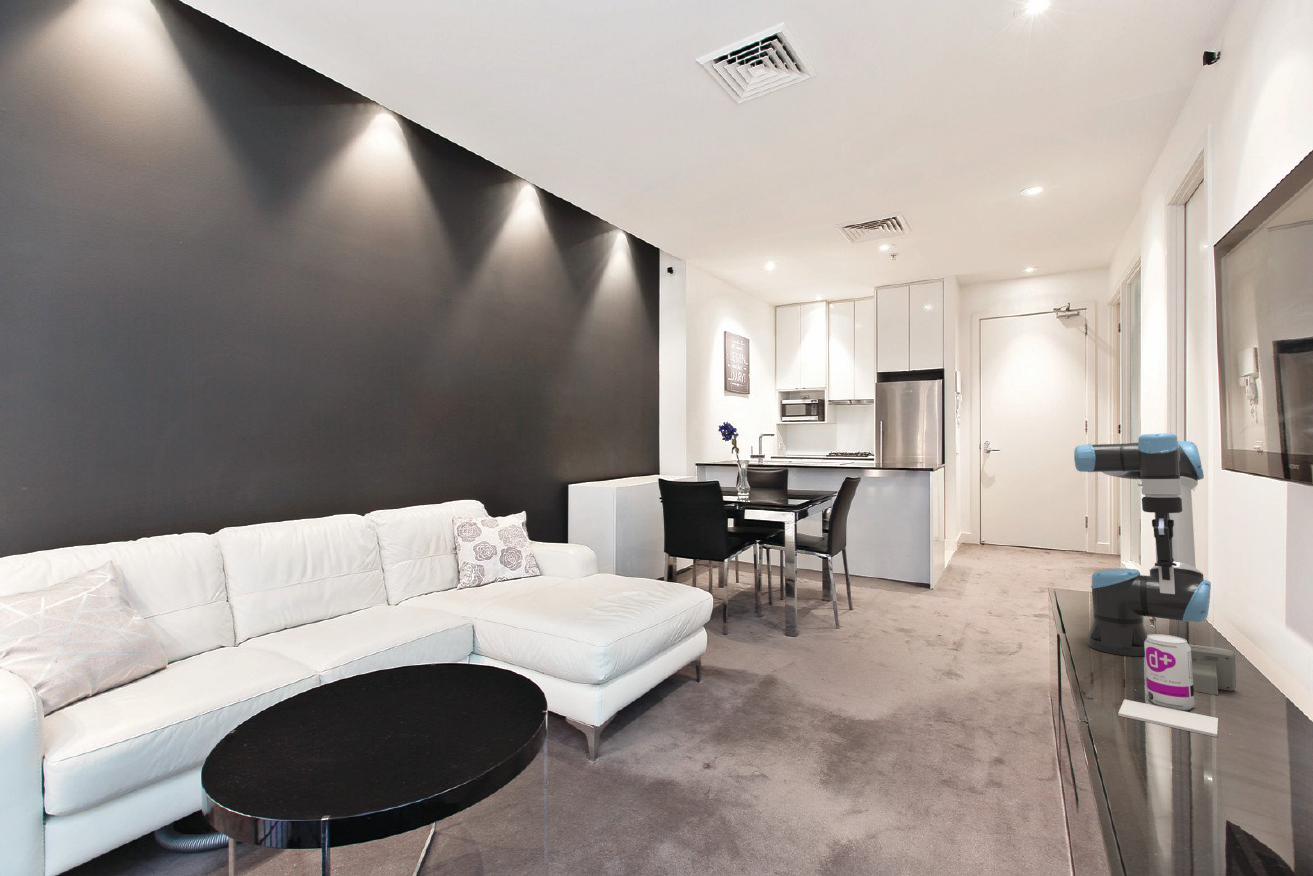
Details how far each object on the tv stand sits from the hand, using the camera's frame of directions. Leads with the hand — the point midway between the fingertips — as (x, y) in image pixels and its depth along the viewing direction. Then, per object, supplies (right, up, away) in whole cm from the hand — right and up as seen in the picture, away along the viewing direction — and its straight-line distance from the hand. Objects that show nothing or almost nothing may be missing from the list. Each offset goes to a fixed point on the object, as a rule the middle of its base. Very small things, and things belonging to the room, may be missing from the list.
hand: (1167, 592), depth 145 cm
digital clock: (+8, -24, +2) cm, 25 cm away
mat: (-13, -23, -15) cm, 31 cm away
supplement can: (-6, -24, -8) cm, 26 cm away
